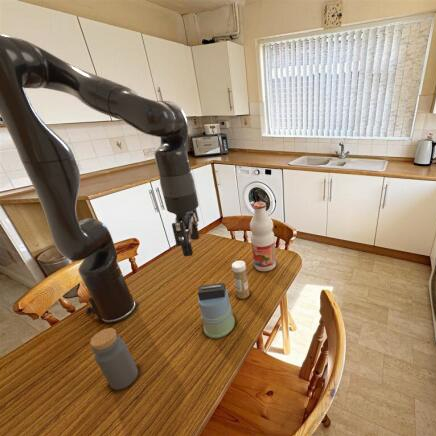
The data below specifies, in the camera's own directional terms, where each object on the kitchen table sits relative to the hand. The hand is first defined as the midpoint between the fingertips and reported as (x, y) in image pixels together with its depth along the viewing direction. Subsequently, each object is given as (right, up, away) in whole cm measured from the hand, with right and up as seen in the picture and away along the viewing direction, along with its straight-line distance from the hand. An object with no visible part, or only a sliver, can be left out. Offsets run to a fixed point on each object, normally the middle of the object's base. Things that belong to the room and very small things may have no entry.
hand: (192, 246), depth 66 cm
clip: (+5, -14, +3) cm, 15 cm away
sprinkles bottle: (+10, -20, +20) cm, 30 cm away
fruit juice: (+16, -12, +35) cm, 41 cm away
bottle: (-15, -33, -6) cm, 36 cm away
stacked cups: (+5, -25, +8) cm, 27 cm away
